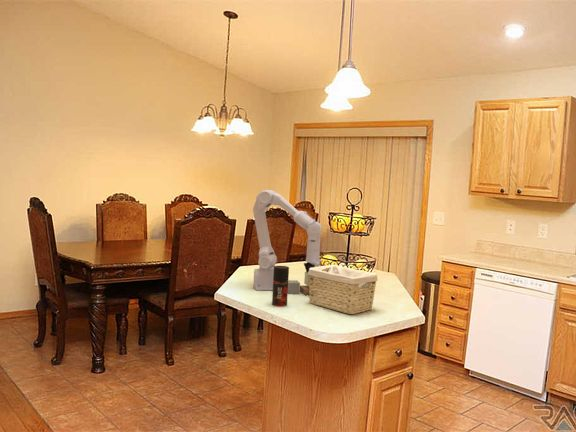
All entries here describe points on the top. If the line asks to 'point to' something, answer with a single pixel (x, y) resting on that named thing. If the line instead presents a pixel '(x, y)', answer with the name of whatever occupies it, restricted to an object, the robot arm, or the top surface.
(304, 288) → the walnut slab
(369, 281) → the storage basket
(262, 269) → the robot arm
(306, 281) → the beige cube
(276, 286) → the deodorant
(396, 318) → the top surface
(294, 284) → the slate cube
